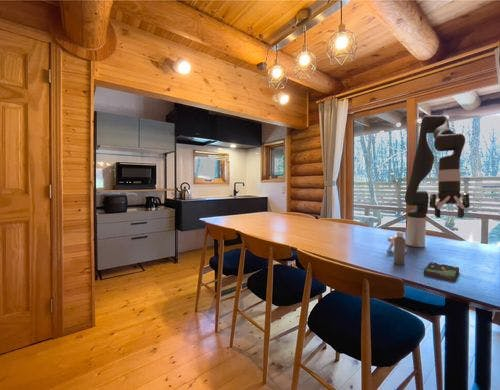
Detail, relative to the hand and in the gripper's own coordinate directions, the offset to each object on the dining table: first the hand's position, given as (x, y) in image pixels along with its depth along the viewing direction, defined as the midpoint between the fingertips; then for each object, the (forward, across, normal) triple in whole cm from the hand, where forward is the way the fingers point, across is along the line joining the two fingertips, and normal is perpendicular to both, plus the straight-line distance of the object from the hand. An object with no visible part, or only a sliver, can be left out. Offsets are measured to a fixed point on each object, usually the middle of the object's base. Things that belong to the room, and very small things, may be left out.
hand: (449, 217), depth 109 cm
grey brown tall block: (+22, +18, -4) cm, 29 cm away
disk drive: (+24, +6, +5) cm, 25 cm away
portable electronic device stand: (+22, +12, -25) cm, 35 cm away
